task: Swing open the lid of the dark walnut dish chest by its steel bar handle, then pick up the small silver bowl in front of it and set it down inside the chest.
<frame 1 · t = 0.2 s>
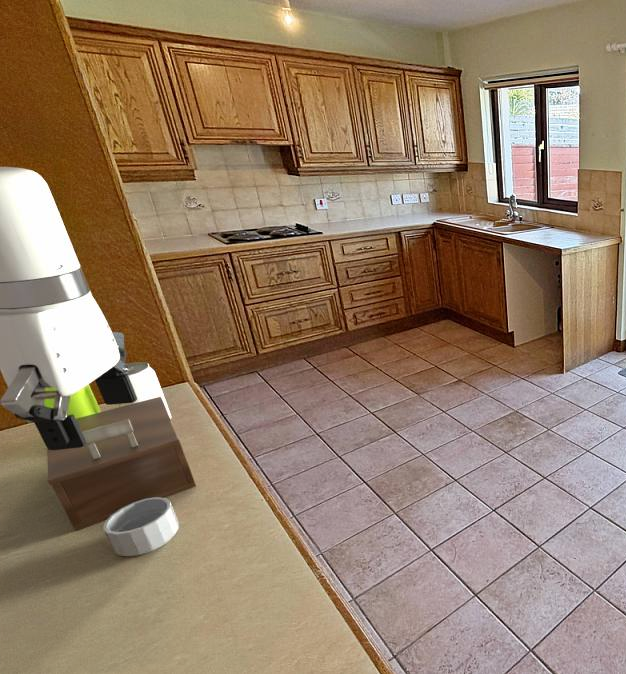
hand: (97, 423, 57), 20 cm above the counter, tool pointing down, fingers open, 9 cm apart
bowl: (148, 539, 67), on the counter
can: (150, 424, 91), on the counter
chest: (133, 480, 77), on the counter
soap dispenser: (88, 439, 87), on the counter
lid: (107, 422, 72), point 11 cm above the counter, hinge at 0.0°
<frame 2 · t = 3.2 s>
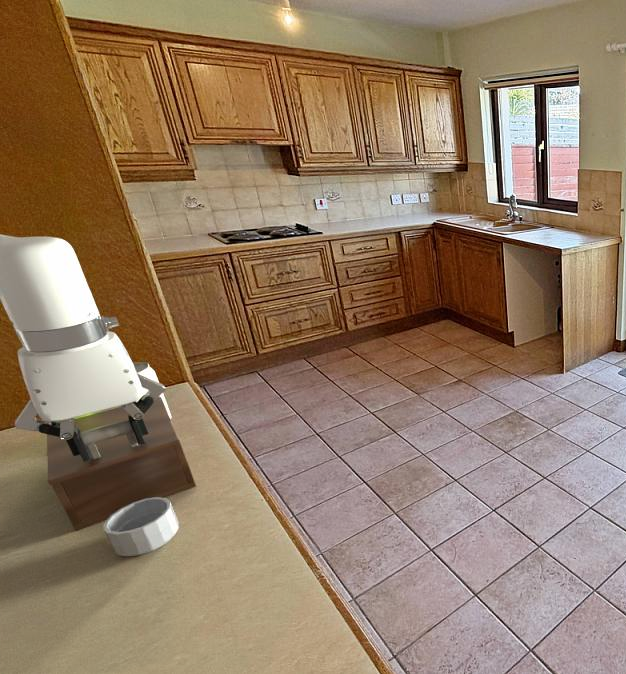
hand: (114, 447, 69), 10 cm above the counter, tool pointing down, fingers closed on lid, 5 cm apart
lid: (107, 422, 72), point 11 cm above the counter, hinge at 0.0°, touching gripper
everything else where it was.
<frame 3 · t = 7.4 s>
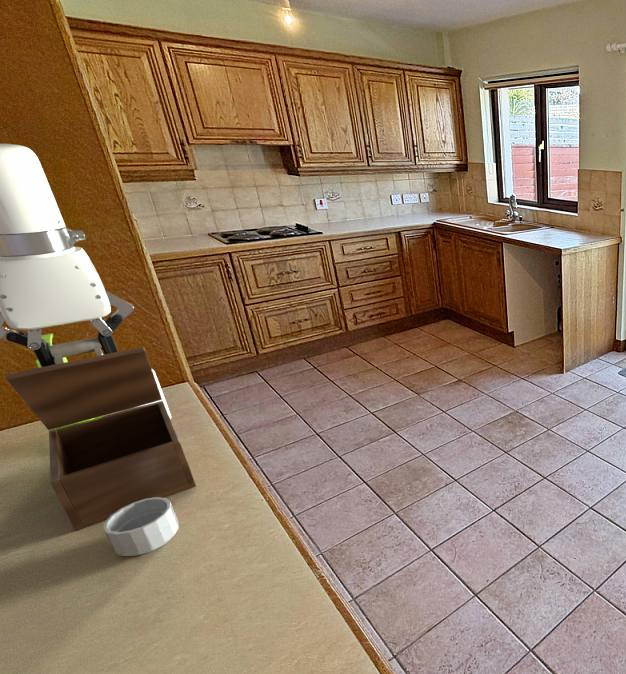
hand: (83, 363, 70), 21 cm above the counter, tool pointing down, fingers closed on lid, 5 cm apart
lid: (90, 377, 73), point 17 cm above the counter, hinge at 50.7°, touching gripper
everything else where it was.
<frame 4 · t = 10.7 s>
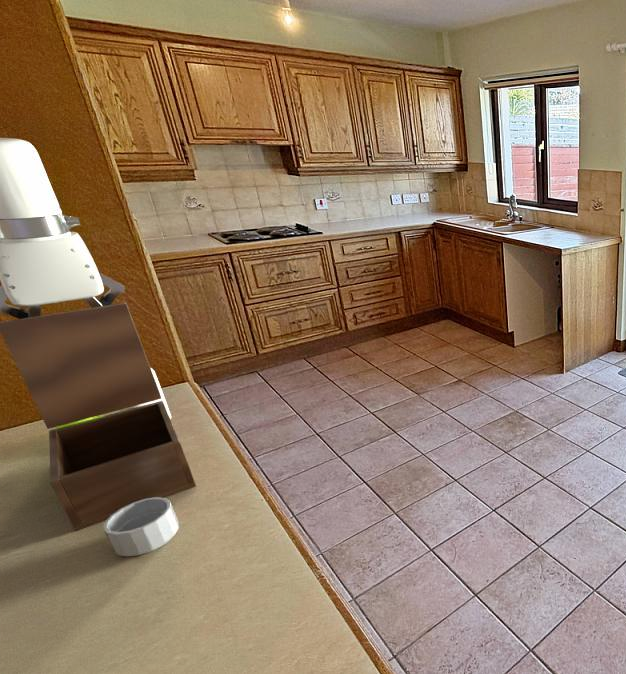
hand: (79, 338, 77), 21 cm above the counter, tool pointing down, fingers closed on lid, 5 cm apart
lid: (87, 360, 77), point 18 cm above the counter, hinge at 93.4°, touching gripper
everything else where it was.
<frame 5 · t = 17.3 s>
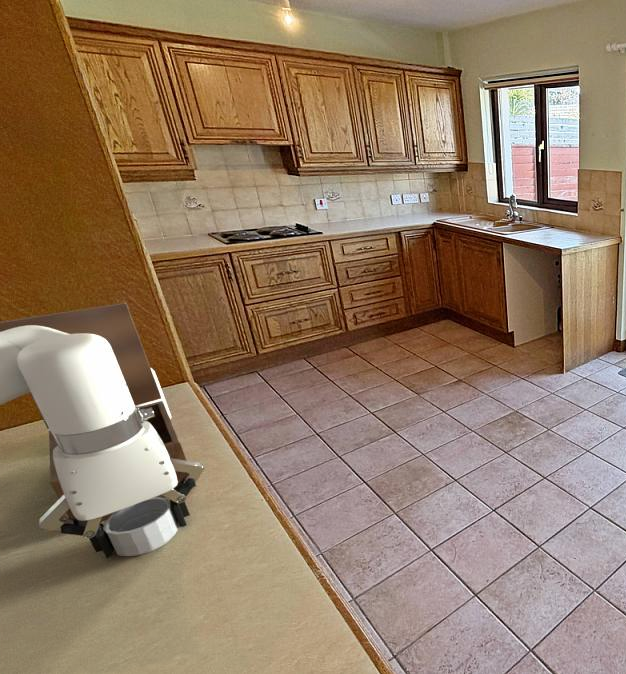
hand: (146, 535, 66), 1 cm above the counter, tool pointing down, fingers closed on bowl, 7 cm apart
bowl: (148, 539, 67), on the counter, touching gripper
lid: (87, 360, 77), point 18 cm above the counter, hinge at 93.6°
everything else where it was.
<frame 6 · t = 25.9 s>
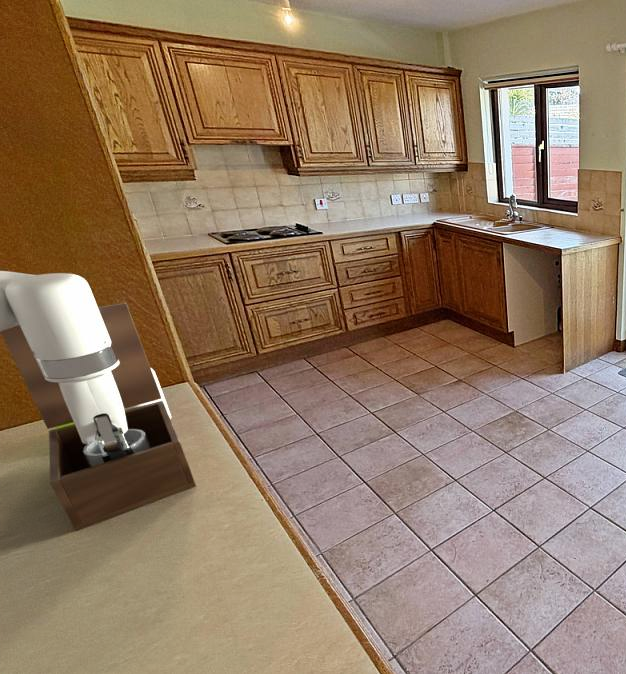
hand: (123, 461, 74), 5 cm above the counter, tool pointing down, fingers closed on bowl, 7 cm apart
bowl: (125, 465, 75), point 4 cm above the counter, touching gripper
everything else where it was.
when the fingers open (8 cm above the counter, at t = 47.4 s): bowl drops 6 cm, resting on chest.
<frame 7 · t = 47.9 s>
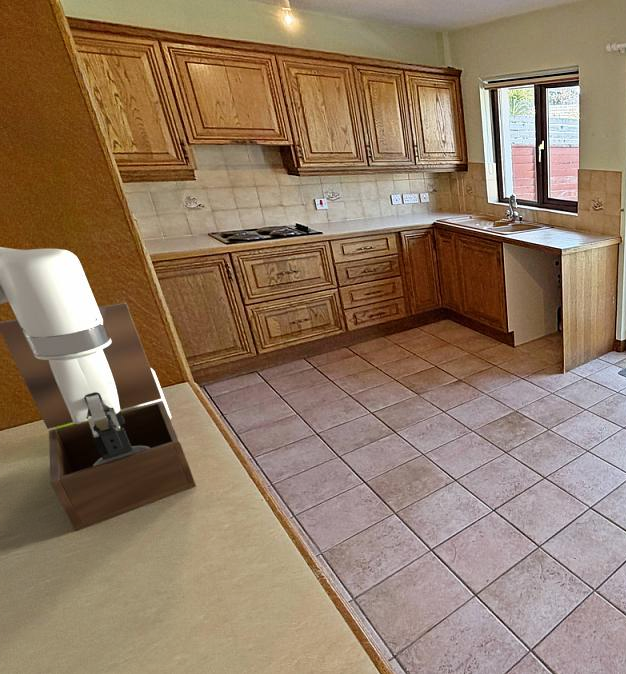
hand: (114, 440, 73), 9 cm above the counter, tool pointing down, fingers open, 9 cm apart
bowl: (132, 481, 76), point 1 cm above the counter, touching chest
everything else where it was.
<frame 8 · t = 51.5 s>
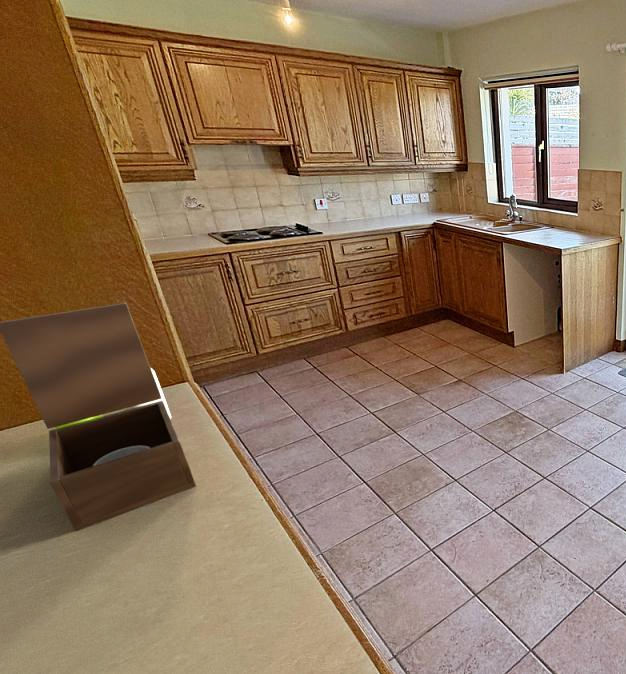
nothing on the counter moved.
at the end: lid at +94° (first picture: +0°); bowl inside the target area in the chest (1.5 cm from its centre), point 0.8 cm above the chest's base; bowl tilted 0° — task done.
